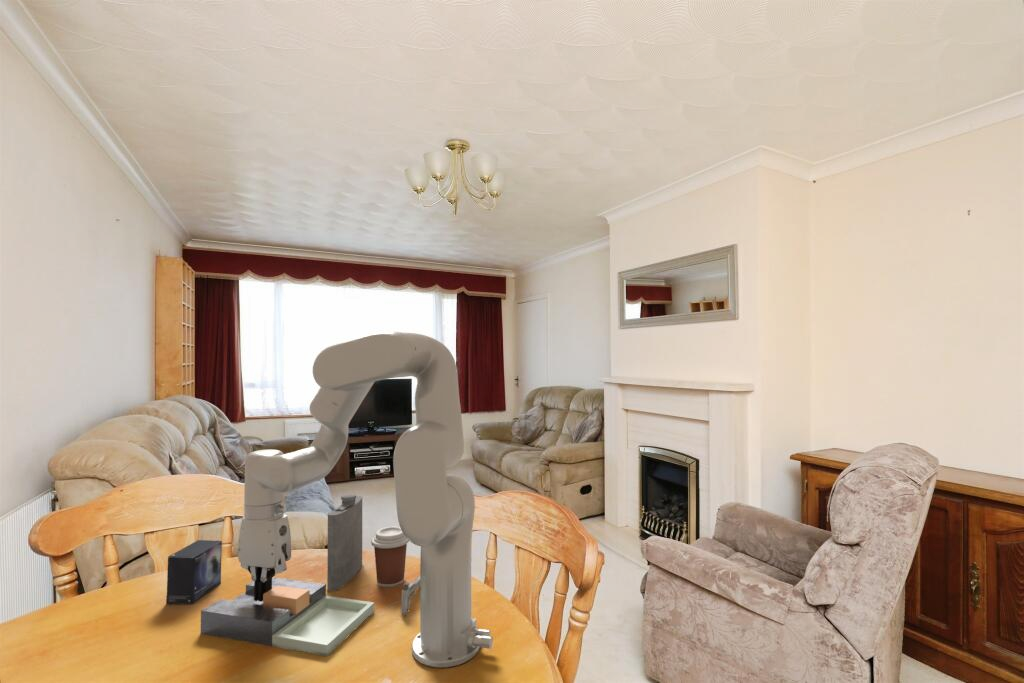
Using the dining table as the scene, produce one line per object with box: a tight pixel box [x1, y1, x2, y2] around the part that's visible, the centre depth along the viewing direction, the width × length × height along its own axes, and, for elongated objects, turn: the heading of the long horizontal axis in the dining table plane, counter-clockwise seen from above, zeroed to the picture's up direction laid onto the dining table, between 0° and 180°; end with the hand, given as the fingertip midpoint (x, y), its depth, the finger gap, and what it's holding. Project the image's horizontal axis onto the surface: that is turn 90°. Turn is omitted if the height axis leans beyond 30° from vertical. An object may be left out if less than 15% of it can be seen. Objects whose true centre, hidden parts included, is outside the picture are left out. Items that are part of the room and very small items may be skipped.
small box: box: [165, 539, 223, 605], centre depth 114 cm, size 11×6×10 cm, turn 179°
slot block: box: [200, 576, 327, 647], centre depth 102 cm, size 17×16×4 cm
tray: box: [271, 595, 375, 657], centre depth 98 cm, size 12×16×2 cm
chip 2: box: [279, 588, 309, 614], centre depth 100 cm, size 4×4×3 cm
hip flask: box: [326, 493, 363, 592], centre depth 122 cm, size 16×4×20 cm, turn 175°
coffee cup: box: [370, 526, 410, 588], centre depth 119 cm, size 9×9×12 cm
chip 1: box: [263, 586, 293, 608], centre depth 101 cm, size 4×4×3 cm
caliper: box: [400, 575, 420, 616], centre depth 113 cm, size 20×1×6 cm, turn 176°
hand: (263, 597), depth 102 cm, fingers closed
